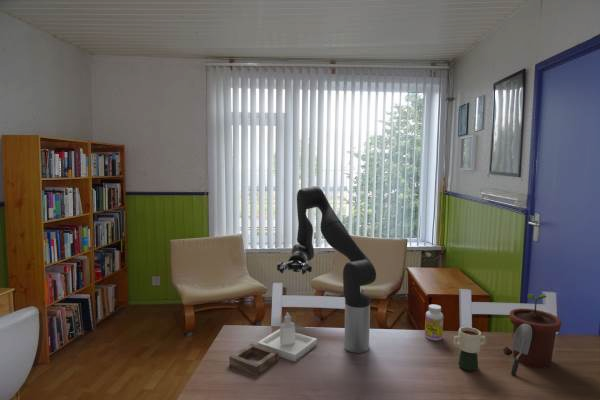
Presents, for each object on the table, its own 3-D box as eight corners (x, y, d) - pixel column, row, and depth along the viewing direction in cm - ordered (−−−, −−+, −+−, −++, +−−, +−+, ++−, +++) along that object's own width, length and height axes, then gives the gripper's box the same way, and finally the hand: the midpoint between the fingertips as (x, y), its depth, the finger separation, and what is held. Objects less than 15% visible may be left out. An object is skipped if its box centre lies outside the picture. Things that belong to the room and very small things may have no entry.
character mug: (479, 362, 140) (481, 326, 139) (488, 373, 133) (491, 335, 132) (448, 362, 140) (449, 326, 139) (456, 373, 133) (458, 335, 132)
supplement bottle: (421, 337, 160) (422, 306, 158) (430, 332, 164) (431, 302, 163) (437, 342, 155) (438, 310, 154) (445, 337, 159) (446, 306, 158)
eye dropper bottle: (294, 346, 148) (294, 315, 148) (279, 346, 149) (279, 314, 148) (295, 341, 153) (295, 311, 152) (280, 341, 153) (280, 310, 152)
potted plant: (573, 372, 134) (579, 300, 131) (512, 376, 131) (517, 303, 129) (536, 347, 151) (540, 283, 149) (482, 350, 149) (486, 285, 146)
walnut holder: (251, 351, 147) (251, 343, 147) (278, 360, 141) (278, 352, 140) (229, 365, 137) (229, 356, 137) (256, 375, 131) (256, 366, 130)
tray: (280, 334, 162) (280, 328, 161) (316, 344, 152) (316, 338, 152) (257, 348, 149) (257, 342, 149) (295, 361, 140) (295, 354, 140)
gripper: (282, 252, 175) (274, 261, 159) (314, 253, 174) (310, 263, 158) (282, 268, 176) (274, 279, 160) (314, 270, 174) (310, 281, 158)
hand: (292, 271), depth 159 cm, fingers open, 8 cm apart
